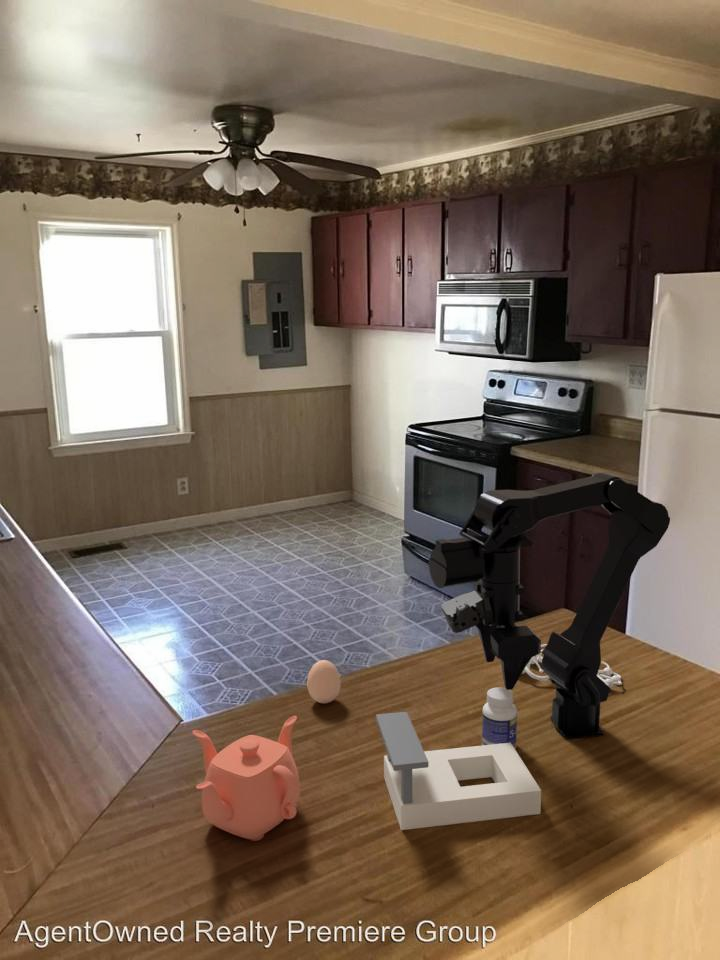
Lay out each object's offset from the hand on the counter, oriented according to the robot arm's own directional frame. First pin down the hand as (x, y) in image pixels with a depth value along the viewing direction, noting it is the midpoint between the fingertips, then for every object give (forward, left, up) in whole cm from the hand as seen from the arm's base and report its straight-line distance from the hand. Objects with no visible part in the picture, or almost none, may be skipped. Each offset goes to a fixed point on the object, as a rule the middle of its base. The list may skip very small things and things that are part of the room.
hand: (499, 674), depth 119 cm
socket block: (+10, +11, -12) cm, 19 cm away
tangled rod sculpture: (-20, -22, -12) cm, 32 cm away
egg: (+25, -19, -12) cm, 33 cm away
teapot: (+39, +10, -12) cm, 42 cm away
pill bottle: (0, 0, -12) cm, 12 cm away
